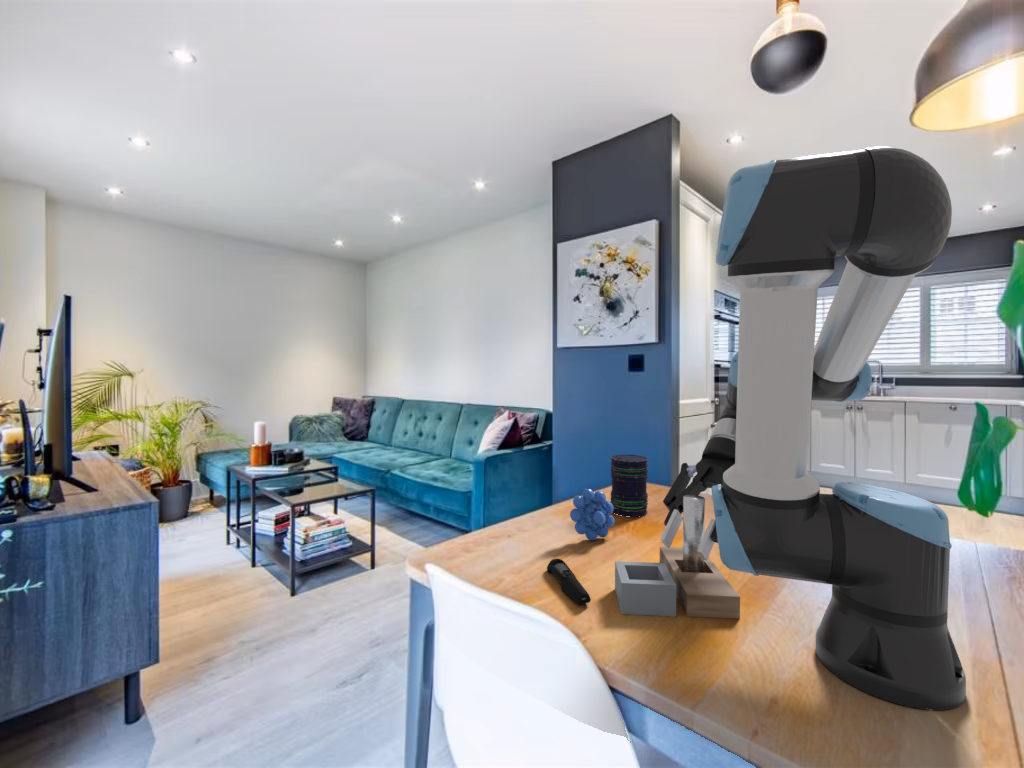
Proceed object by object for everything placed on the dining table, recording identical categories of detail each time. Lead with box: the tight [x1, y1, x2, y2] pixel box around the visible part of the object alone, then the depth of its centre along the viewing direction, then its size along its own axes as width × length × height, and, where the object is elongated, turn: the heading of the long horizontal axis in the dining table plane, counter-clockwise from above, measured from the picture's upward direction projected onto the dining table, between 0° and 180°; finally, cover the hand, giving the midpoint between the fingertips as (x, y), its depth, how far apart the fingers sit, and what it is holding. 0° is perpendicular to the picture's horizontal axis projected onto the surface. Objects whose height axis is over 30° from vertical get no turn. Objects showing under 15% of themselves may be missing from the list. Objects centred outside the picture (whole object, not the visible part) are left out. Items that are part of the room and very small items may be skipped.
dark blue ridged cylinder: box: [610, 454, 649, 518], centre depth 127 cm, size 10×10×15 cm
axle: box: [682, 495, 706, 573], centre depth 84 cm, size 4×4×15 cm
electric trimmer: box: [546, 558, 592, 605], centre depth 84 cm, size 4×16×3 cm, turn 14°
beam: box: [659, 546, 741, 620], centre depth 83 cm, size 20×8×4 cm, turn 174°
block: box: [614, 560, 677, 617], centre depth 78 cm, size 8×8×5 cm
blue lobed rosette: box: [569, 488, 616, 541], centre depth 106 cm, size 12×7×12 cm, turn 113°
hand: (682, 549), depth 82 cm, fingers open, 6 cm apart
